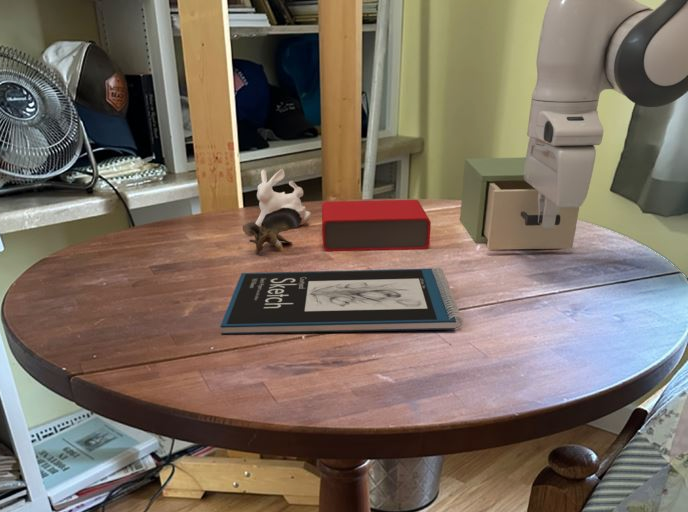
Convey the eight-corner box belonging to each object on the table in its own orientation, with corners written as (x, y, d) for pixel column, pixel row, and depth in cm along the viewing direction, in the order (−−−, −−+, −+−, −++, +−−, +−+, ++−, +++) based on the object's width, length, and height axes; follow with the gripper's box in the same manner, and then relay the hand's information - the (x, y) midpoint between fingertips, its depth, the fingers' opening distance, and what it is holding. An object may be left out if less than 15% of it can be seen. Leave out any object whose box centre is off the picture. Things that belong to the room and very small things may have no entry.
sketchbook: (241, 282, 105) (240, 268, 104) (442, 279, 104) (443, 265, 103) (221, 335, 87) (219, 319, 86) (463, 332, 86) (464, 315, 85)
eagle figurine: (284, 252, 113) (312, 229, 119) (257, 213, 111) (287, 191, 116) (256, 270, 119) (284, 247, 124) (230, 233, 116) (260, 212, 122)
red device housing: (418, 228, 129) (419, 199, 127) (429, 248, 118) (431, 218, 115) (322, 230, 129) (321, 201, 127) (323, 251, 117) (322, 220, 115)
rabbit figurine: (247, 231, 130) (243, 174, 124) (247, 221, 136) (243, 167, 131) (312, 228, 131) (310, 172, 125) (309, 218, 137) (307, 165, 131)
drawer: (582, 257, 109) (593, 196, 104) (494, 258, 109) (501, 198, 104) (546, 224, 126) (554, 171, 121) (471, 225, 126) (476, 172, 121)
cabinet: (561, 241, 120) (572, 173, 114) (475, 243, 120) (482, 175, 114) (537, 218, 134) (545, 157, 128) (459, 219, 134) (464, 158, 128)
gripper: (520, 114, 106) (509, 210, 113) (559, 133, 89) (542, 244, 96) (562, 114, 106) (547, 209, 113) (608, 132, 89) (588, 243, 96)
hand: (545, 225), depth 105 cm, fingers closed
